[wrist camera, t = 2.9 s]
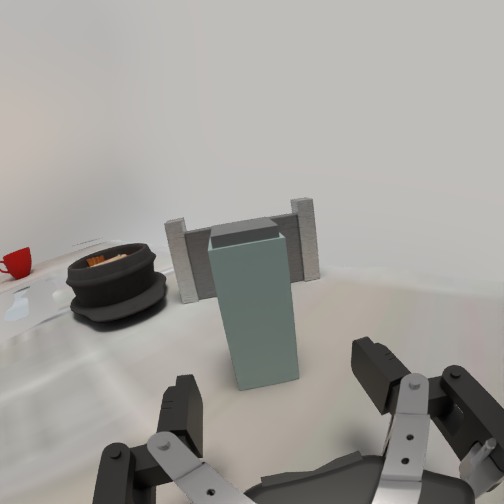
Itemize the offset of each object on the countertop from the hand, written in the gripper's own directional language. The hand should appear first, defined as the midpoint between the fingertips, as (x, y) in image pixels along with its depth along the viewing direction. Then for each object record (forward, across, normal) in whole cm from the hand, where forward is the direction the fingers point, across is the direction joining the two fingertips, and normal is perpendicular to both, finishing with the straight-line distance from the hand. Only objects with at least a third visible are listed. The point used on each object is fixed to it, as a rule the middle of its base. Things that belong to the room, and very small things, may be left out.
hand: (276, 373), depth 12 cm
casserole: (+32, +22, +7) cm, 40 cm away
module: (+9, 0, +7) cm, 12 cm away
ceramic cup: (+70, +86, +7) cm, 111 cm away
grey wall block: (+29, -1, +7) cm, 30 cm away
